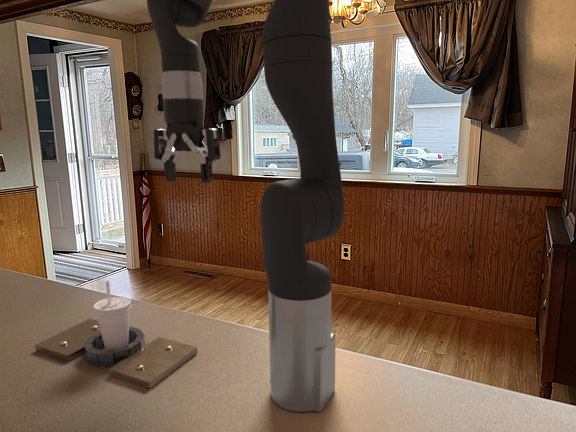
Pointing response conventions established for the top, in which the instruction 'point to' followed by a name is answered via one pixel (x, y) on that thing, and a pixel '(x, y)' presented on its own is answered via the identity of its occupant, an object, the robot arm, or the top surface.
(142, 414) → the top surface
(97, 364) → the hinge base
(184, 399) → the top surface
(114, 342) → the smoothie
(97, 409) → the top surface
